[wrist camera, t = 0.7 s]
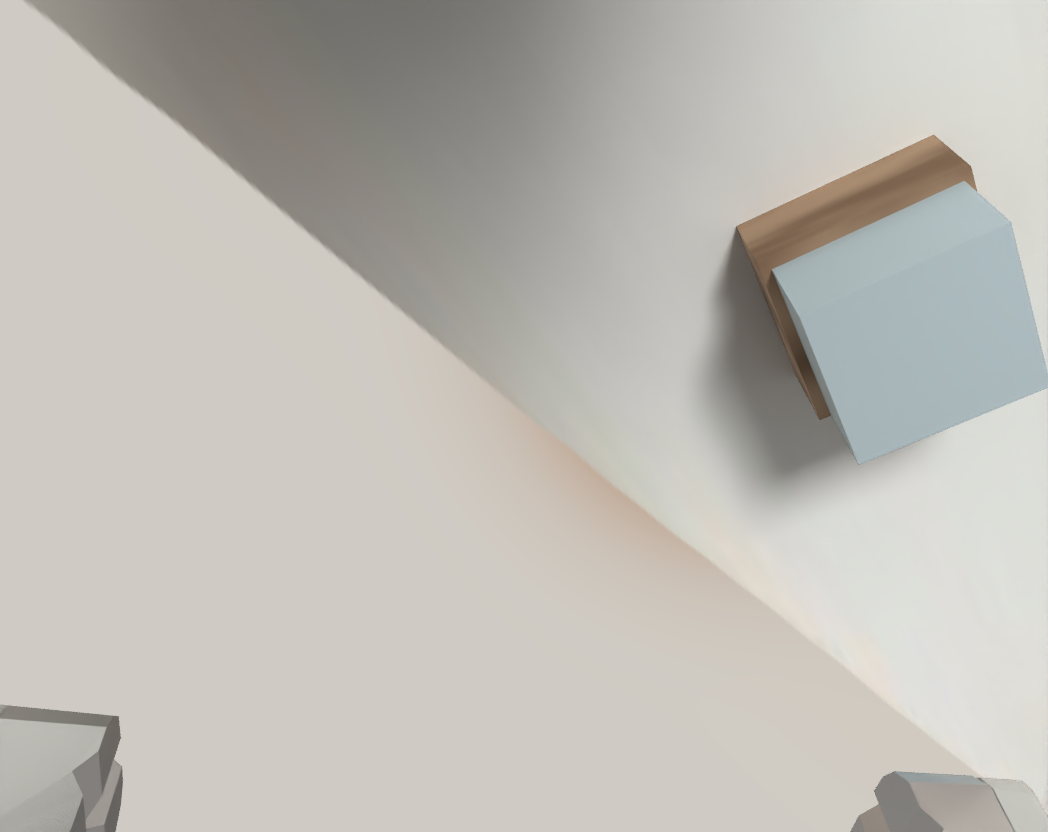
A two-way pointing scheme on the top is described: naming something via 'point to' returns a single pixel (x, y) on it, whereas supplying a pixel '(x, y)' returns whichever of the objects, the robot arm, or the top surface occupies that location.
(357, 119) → the top surface
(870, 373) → the tower top block
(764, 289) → the tower base block
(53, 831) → the robot arm
